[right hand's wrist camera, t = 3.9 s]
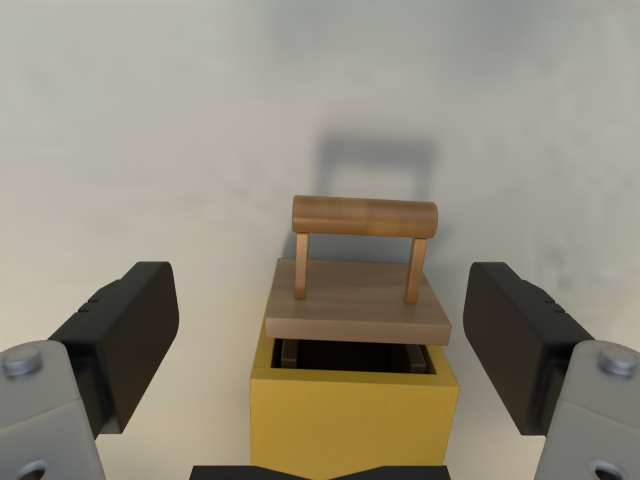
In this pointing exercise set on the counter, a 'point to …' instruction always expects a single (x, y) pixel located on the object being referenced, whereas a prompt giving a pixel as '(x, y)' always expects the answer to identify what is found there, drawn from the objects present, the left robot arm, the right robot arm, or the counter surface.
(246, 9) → the counter surface
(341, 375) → the cabinet
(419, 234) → the drawer
